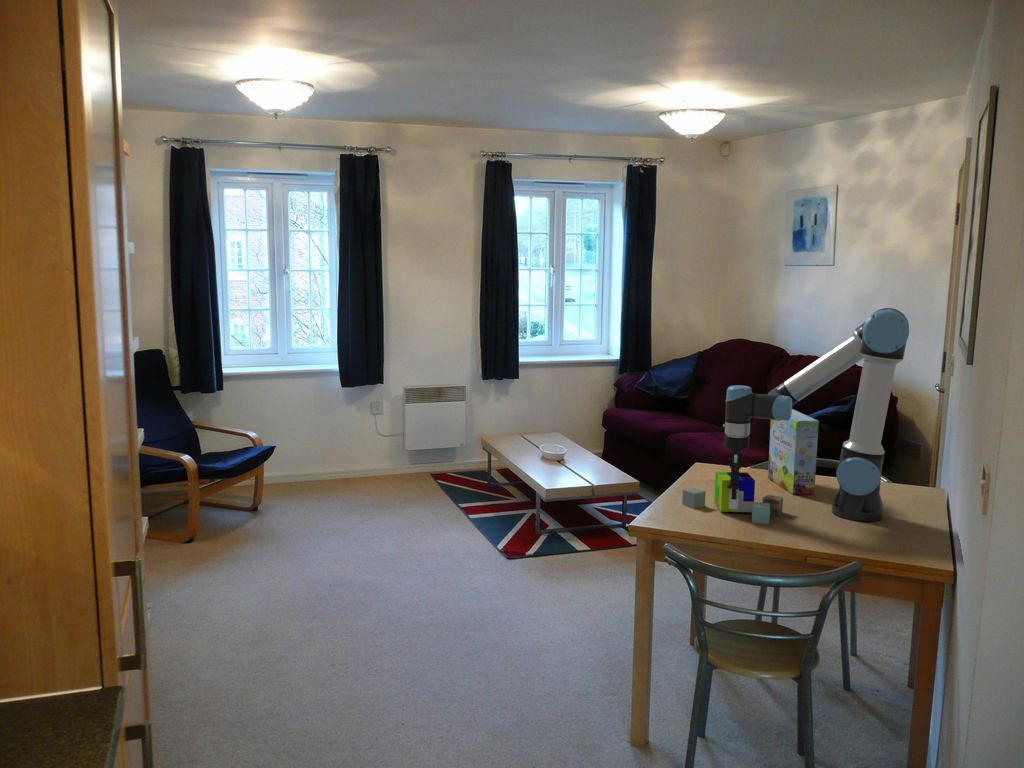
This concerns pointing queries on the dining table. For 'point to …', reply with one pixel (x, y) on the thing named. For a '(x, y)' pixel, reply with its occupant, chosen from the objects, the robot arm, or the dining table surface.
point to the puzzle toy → (744, 495)
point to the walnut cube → (774, 504)
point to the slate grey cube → (694, 498)
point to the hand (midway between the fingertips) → (733, 503)
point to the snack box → (794, 453)
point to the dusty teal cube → (760, 512)
